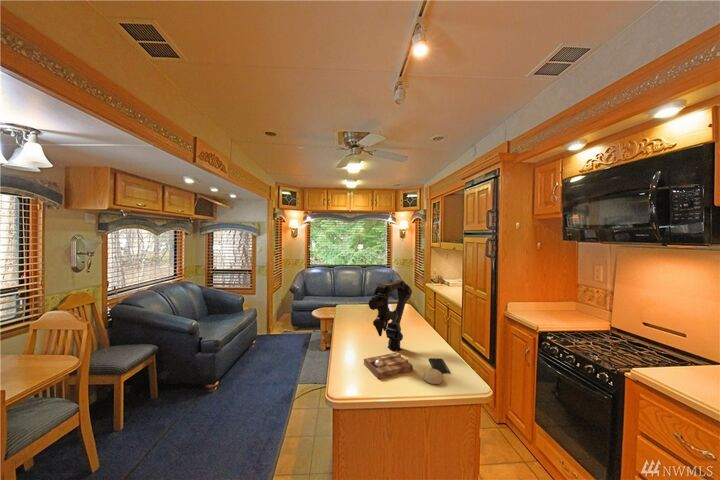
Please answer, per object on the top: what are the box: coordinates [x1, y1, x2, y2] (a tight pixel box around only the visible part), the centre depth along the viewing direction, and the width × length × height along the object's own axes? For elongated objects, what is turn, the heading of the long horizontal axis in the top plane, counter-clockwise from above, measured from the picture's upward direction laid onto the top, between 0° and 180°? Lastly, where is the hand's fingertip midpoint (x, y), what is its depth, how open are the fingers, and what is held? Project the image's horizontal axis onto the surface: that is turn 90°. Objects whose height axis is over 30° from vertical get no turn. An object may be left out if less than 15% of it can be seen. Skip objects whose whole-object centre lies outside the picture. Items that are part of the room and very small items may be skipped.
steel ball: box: [374, 359, 384, 368], centre depth 139 cm, size 5×5×5 cm
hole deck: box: [363, 352, 414, 380], centre depth 141 cm, size 20×16×4 cm
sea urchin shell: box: [422, 368, 444, 385], centre depth 130 cm, size 9×8×8 cm
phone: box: [428, 357, 451, 374], centre depth 144 cm, size 8×1×15 cm
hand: (382, 333), depth 154 cm, fingers open, 9 cm apart
